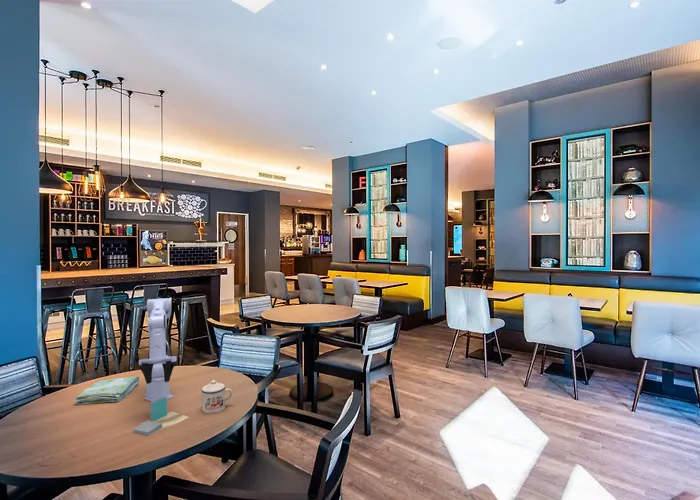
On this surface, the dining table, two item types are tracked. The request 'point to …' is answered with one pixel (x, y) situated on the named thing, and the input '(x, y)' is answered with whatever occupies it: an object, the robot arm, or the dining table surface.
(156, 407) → the tile
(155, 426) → the tile
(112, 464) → the dining table surface
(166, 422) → the beige square board
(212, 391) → the teacup with lid
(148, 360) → the robot arm
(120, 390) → the towel
